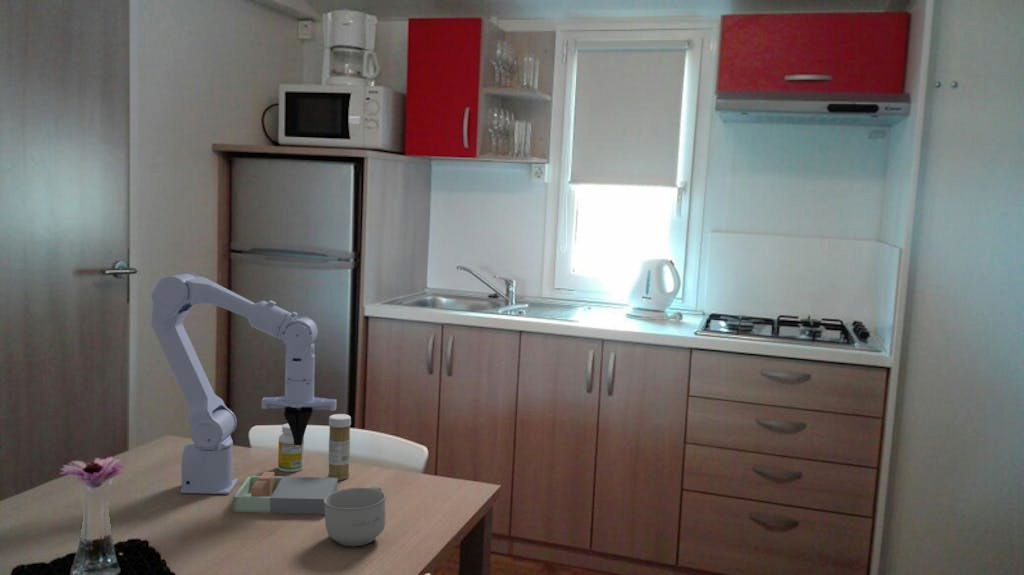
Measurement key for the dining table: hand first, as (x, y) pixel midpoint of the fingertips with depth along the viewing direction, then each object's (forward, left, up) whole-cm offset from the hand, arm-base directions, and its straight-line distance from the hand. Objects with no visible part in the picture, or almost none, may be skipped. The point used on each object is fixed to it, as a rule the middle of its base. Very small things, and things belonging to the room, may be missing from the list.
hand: (298, 443), depth 172 cm
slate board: (+2, -6, -10) cm, 12 cm away
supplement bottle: (-4, +14, -10) cm, 18 cm away
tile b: (-5, -9, -8) cm, 12 cm away
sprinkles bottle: (+7, +9, -10) cm, 15 cm away
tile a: (-5, -3, -8) cm, 9 cm away
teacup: (+15, -22, -10) cm, 29 cm away
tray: (-6, -6, -10) cm, 13 cm away
